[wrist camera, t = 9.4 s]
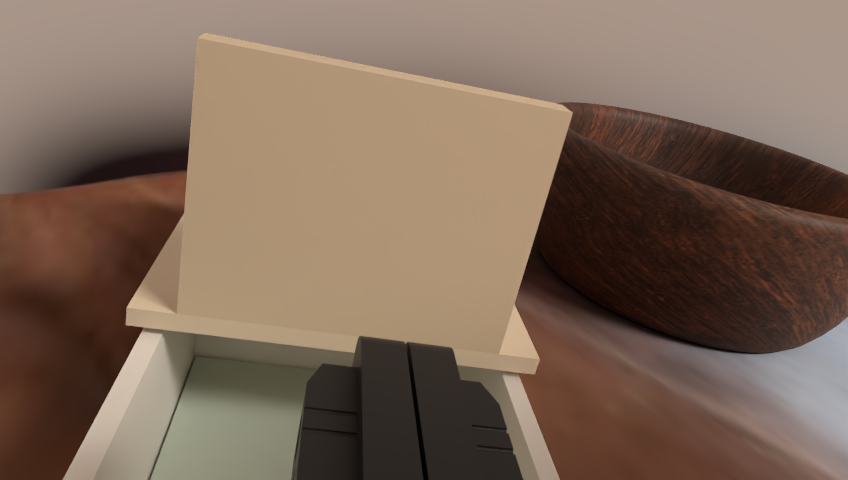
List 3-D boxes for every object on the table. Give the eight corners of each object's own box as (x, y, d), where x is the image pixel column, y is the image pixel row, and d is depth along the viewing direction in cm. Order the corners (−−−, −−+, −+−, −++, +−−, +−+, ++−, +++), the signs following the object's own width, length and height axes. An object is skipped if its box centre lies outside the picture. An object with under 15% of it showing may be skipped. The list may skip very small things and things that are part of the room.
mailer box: (567, 919, 14) (667, 750, 12) (-51, 943, 12) (-79, 743, 10) (449, 394, 30) (481, 280, 28) (180, 364, 28) (191, 238, 26)
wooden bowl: (454, 204, 55) (484, 84, 51) (683, 223, 65) (724, 123, 61) (626, 390, 34) (700, 210, 30) (928, 378, 44) (1015, 240, 40)
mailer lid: (534, 374, 22) (619, 122, 18) (125, 325, 19) (138, 26, 16) (452, 184, 39) (488, 36, 35) (230, 145, 36) (246, -17, 33)
